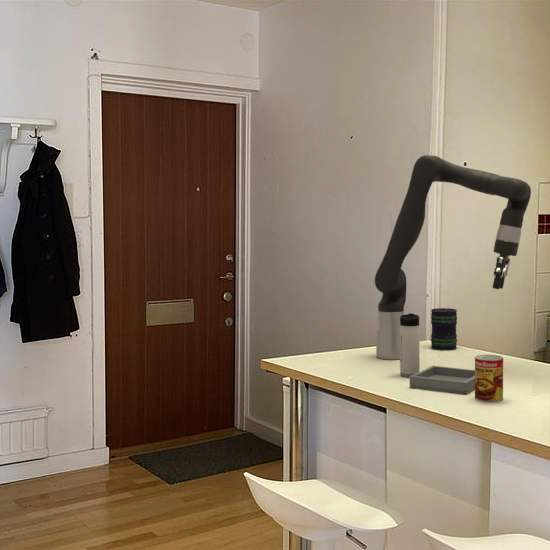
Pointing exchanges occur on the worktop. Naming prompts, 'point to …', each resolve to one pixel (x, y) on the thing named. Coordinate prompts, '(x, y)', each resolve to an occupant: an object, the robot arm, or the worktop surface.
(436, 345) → the storage jar
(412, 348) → the travel mug
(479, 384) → the canned food
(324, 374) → the worktop surface
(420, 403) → the worktop surface
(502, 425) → the worktop surface
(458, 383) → the grey tray
